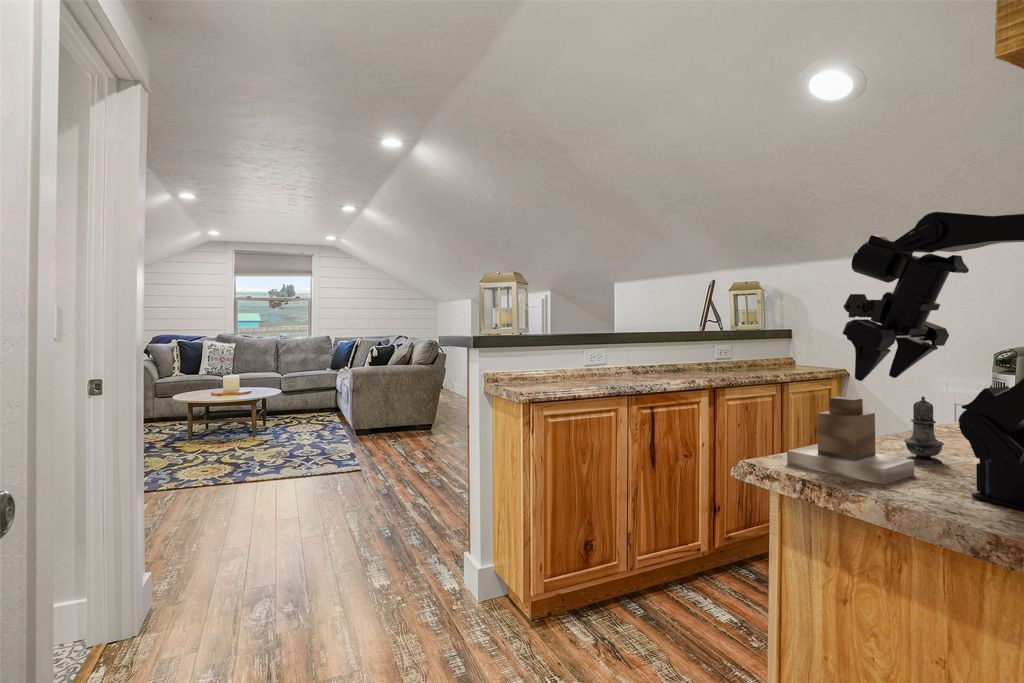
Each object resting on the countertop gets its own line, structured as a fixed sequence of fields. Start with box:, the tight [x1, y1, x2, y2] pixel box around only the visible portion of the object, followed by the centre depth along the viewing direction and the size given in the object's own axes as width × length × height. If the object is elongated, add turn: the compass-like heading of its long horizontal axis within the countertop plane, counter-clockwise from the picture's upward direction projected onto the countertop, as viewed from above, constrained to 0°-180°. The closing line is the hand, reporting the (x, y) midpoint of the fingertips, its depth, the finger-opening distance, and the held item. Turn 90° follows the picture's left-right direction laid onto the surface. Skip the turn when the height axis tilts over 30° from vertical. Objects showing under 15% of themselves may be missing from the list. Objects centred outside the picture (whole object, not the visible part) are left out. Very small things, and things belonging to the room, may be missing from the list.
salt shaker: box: [903, 395, 945, 466], centre depth 97 cm, size 6×6×12 cm
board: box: [786, 443, 915, 486], centre depth 92 cm, size 16×10×2 cm, turn 30°
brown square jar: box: [816, 396, 876, 461], centre depth 92 cm, size 6×7×10 cm
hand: (875, 378), depth 90 cm, fingers open, 9 cm apart
